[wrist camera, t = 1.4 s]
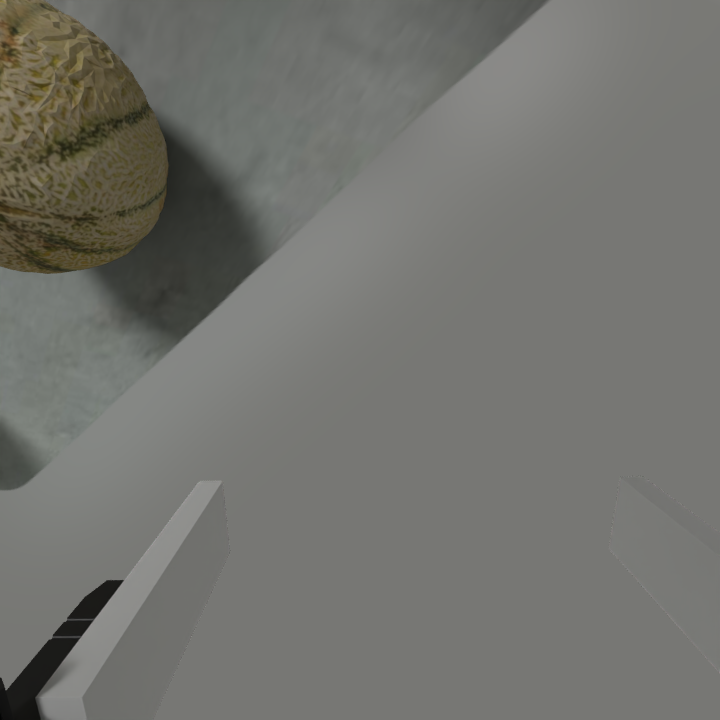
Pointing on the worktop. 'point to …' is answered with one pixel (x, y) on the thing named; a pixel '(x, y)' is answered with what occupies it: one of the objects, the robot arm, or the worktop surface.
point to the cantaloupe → (71, 146)
